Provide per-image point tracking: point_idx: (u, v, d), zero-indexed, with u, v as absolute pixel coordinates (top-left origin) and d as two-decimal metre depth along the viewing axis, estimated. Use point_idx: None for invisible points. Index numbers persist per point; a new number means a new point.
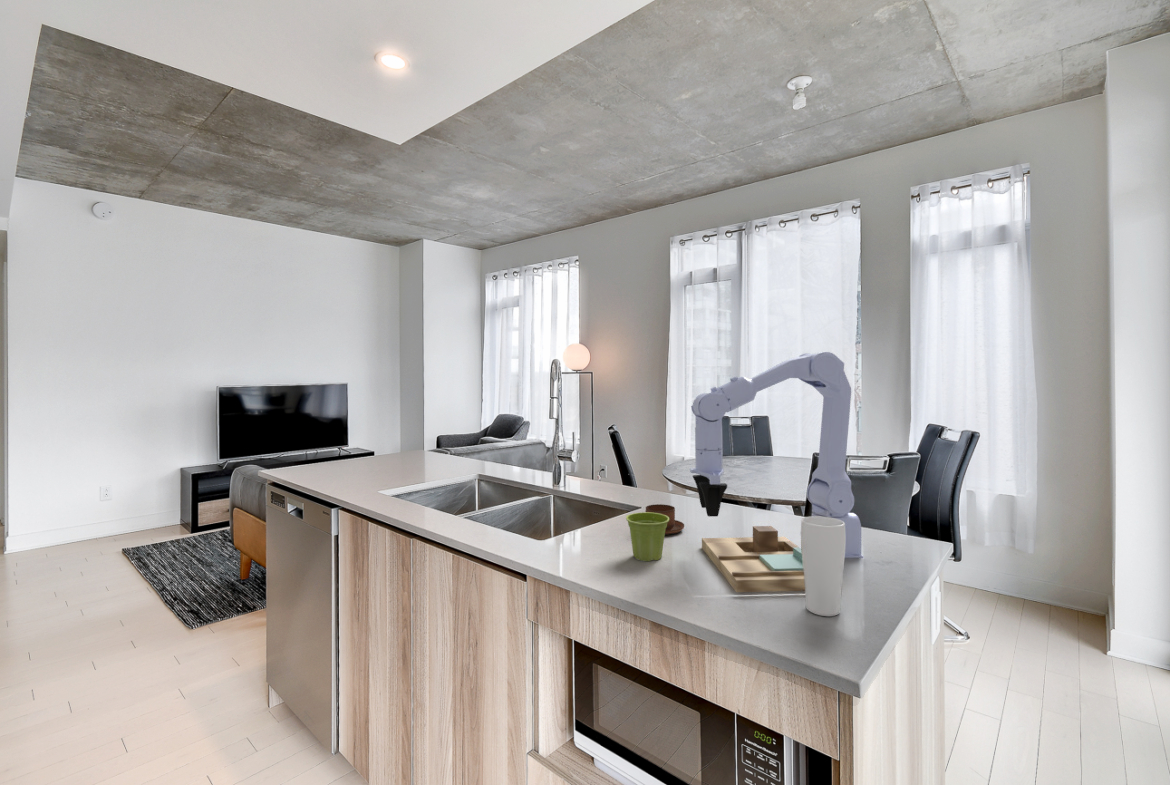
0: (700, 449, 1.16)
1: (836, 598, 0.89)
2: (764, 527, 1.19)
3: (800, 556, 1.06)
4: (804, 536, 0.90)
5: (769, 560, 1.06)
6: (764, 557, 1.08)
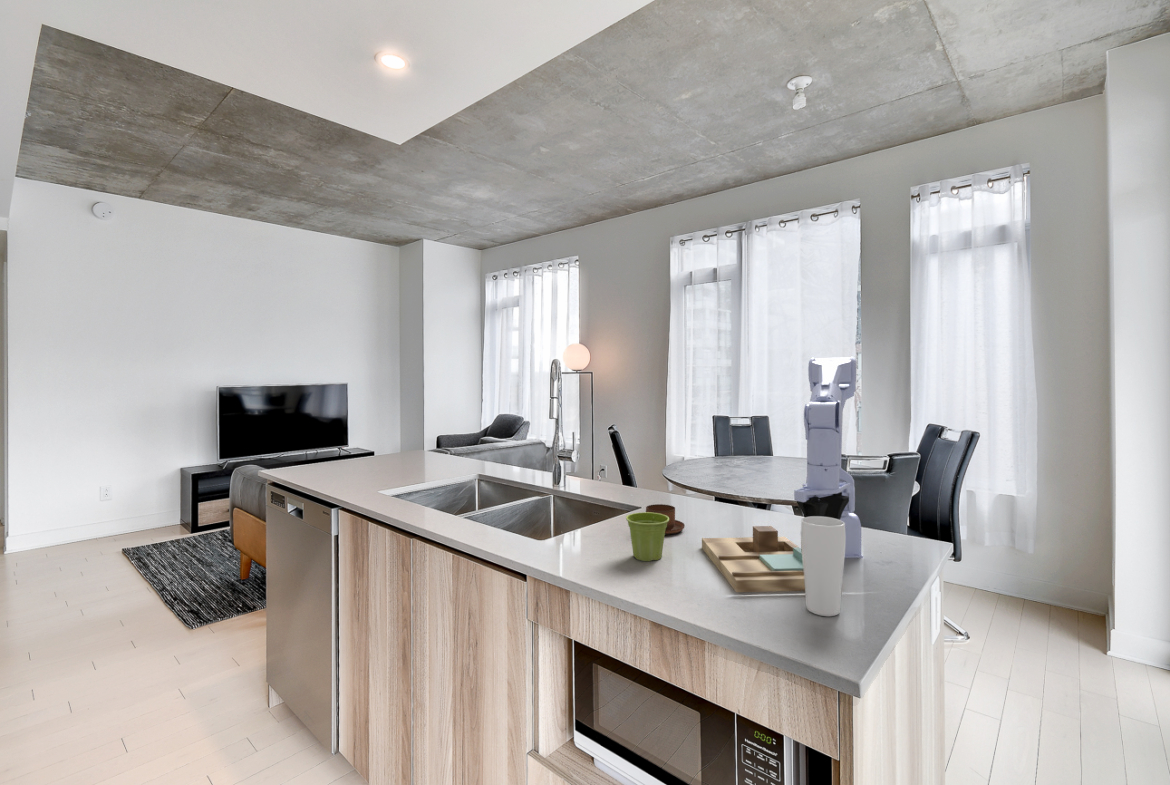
0: (807, 462, 1.06)
1: (836, 598, 0.89)
2: (764, 527, 1.19)
3: (800, 556, 1.06)
4: (804, 536, 0.90)
5: (769, 560, 1.06)
6: (764, 557, 1.08)
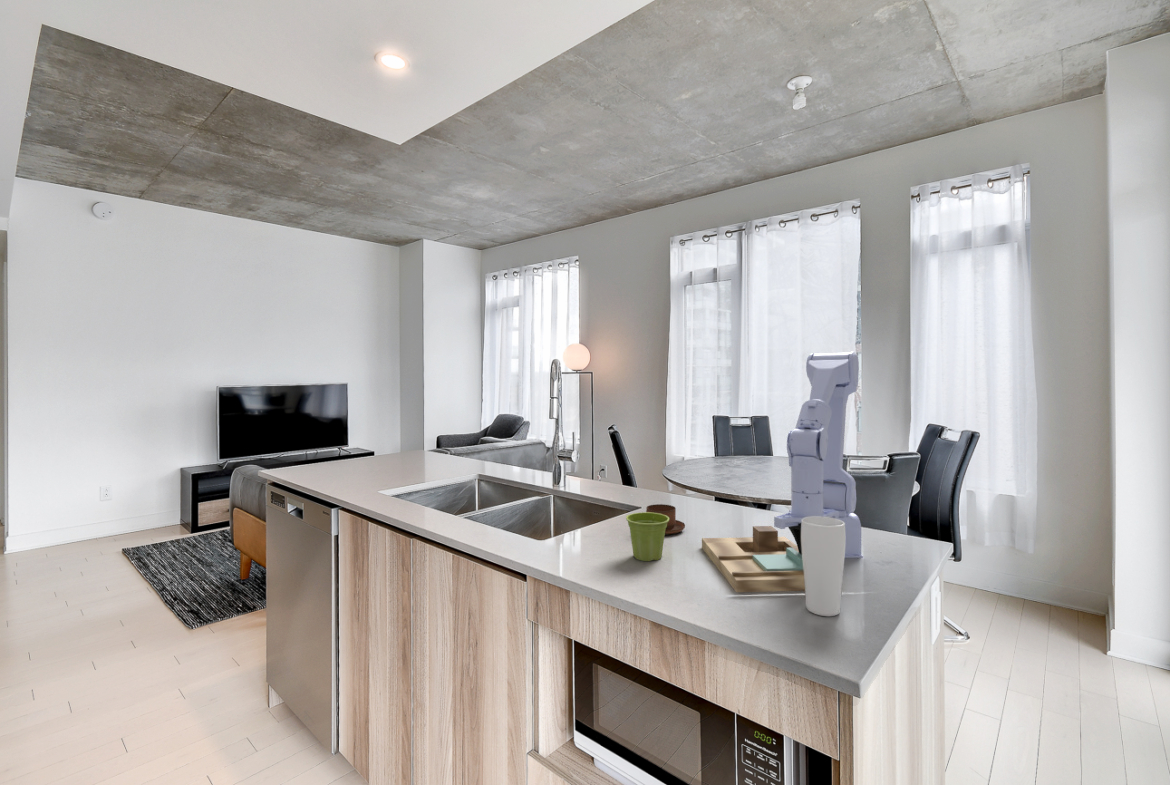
0: (791, 489, 1.07)
1: (836, 598, 0.89)
2: (764, 527, 1.19)
3: (793, 556, 1.06)
4: (804, 536, 0.90)
5: (762, 560, 1.06)
6: (757, 557, 1.08)
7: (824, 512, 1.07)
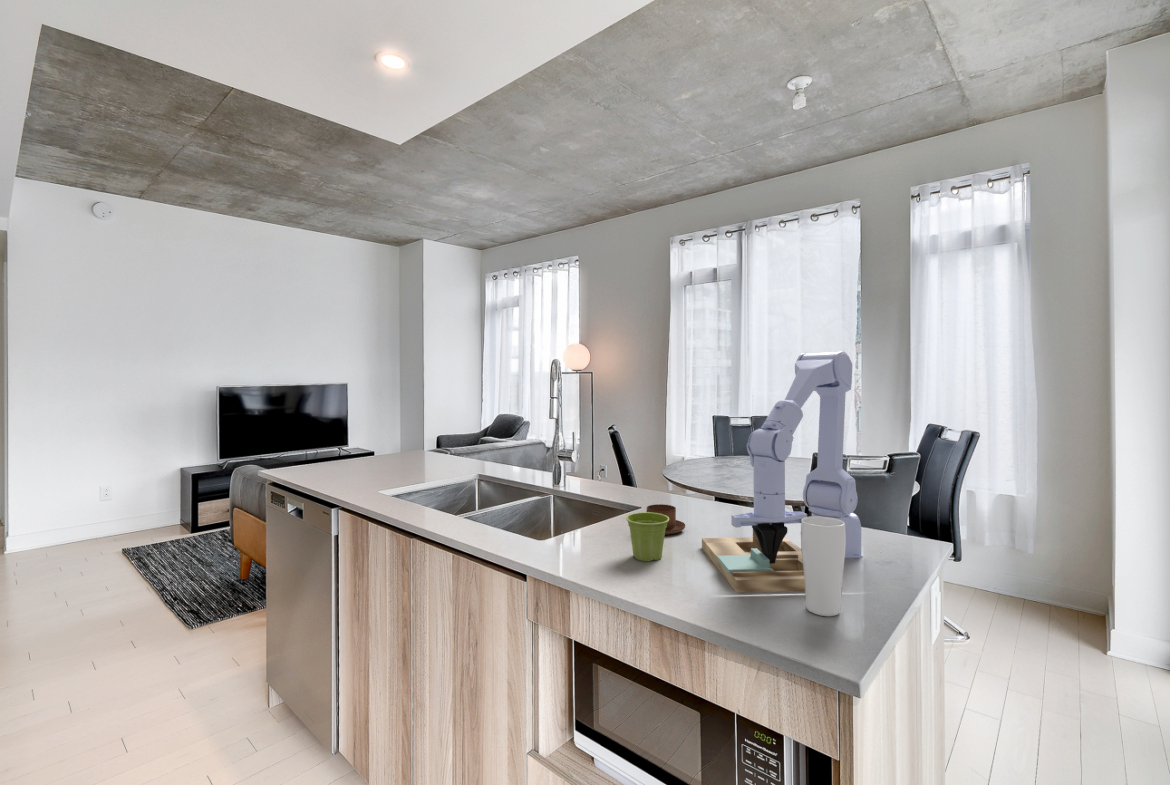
0: None
1: (836, 598, 0.89)
2: None
3: (756, 557, 1.06)
4: (804, 536, 0.90)
5: (725, 561, 1.06)
6: (721, 558, 1.08)
7: (790, 514, 1.06)
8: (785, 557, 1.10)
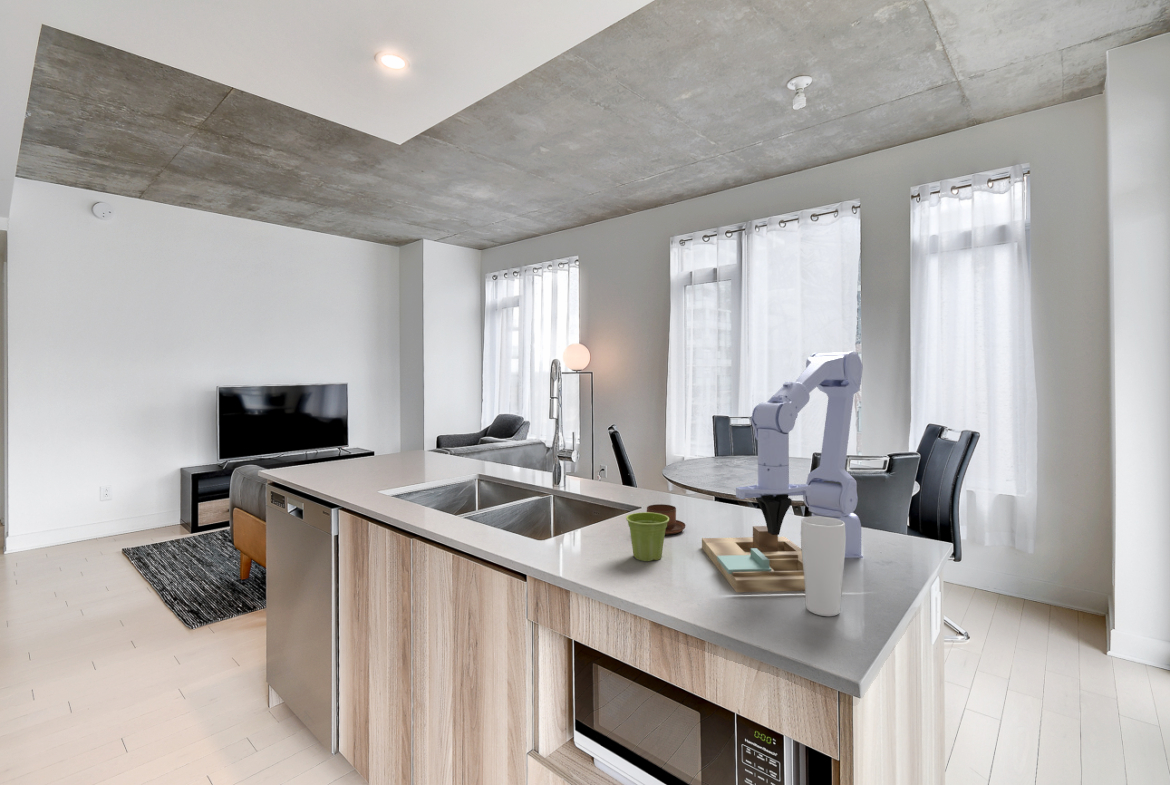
0: None
1: (836, 598, 0.89)
2: (764, 527, 1.19)
3: (756, 557, 1.06)
4: (804, 536, 0.90)
5: (725, 561, 1.06)
6: (721, 558, 1.08)
7: (794, 486, 1.07)
8: (785, 557, 1.10)
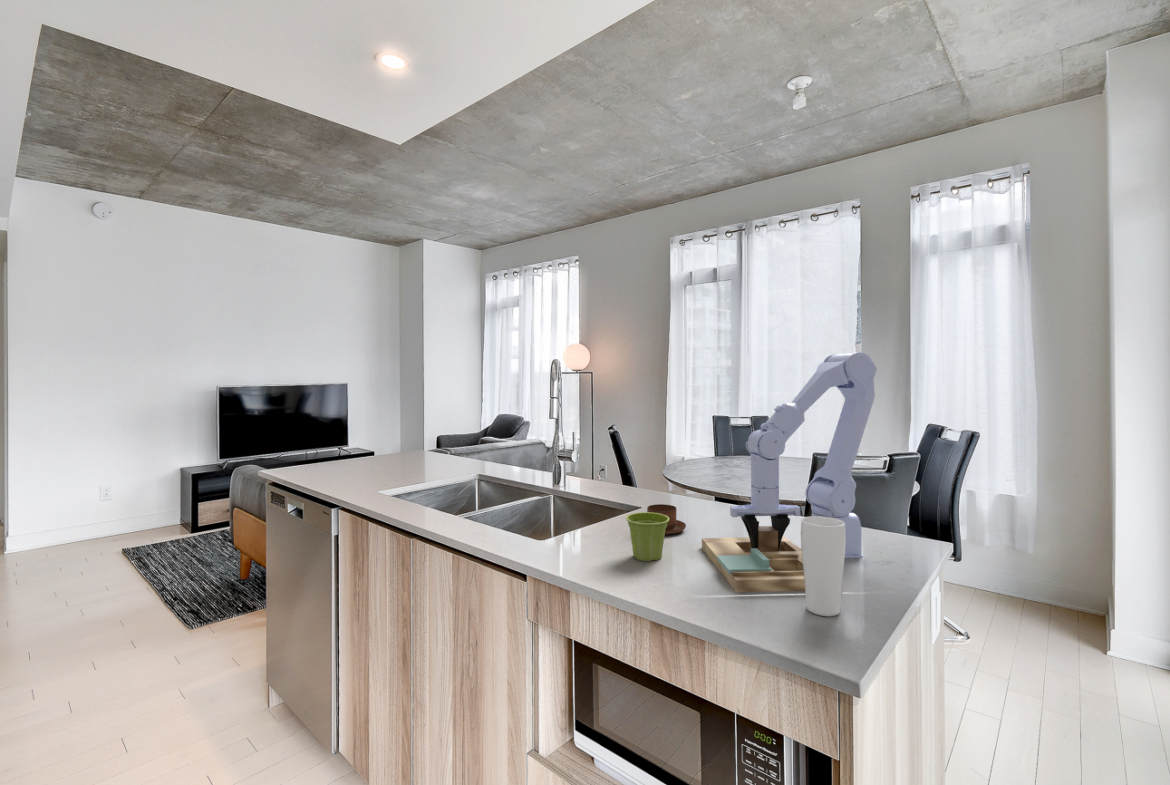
0: None
1: (836, 598, 0.89)
2: (764, 527, 1.19)
3: (756, 557, 1.06)
4: (804, 536, 0.90)
5: (725, 561, 1.06)
6: (721, 558, 1.08)
7: (785, 507, 1.18)
8: (785, 557, 1.10)
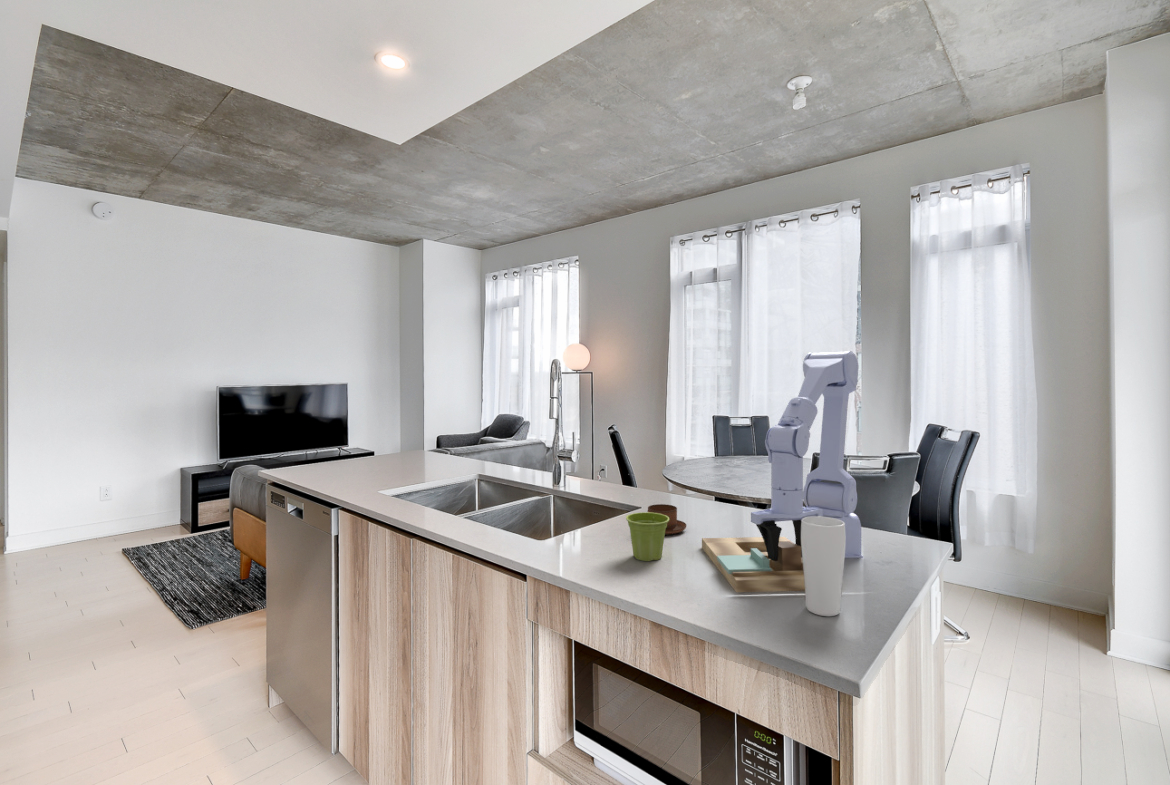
0: None
1: (836, 598, 0.89)
2: (783, 543, 1.07)
3: (756, 557, 1.06)
4: (804, 536, 0.90)
5: (725, 561, 1.06)
6: (721, 558, 1.08)
7: (806, 510, 1.07)
8: None
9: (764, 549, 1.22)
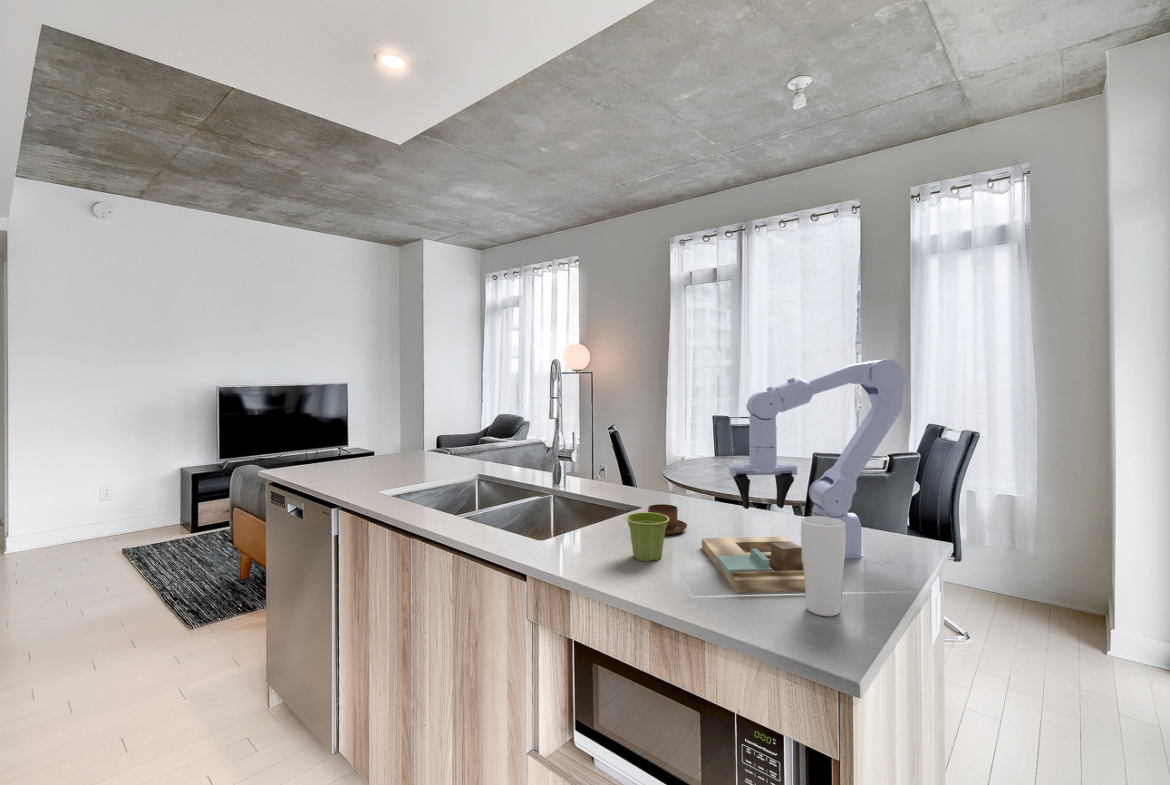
0: None
1: (836, 598, 0.89)
2: (784, 543, 1.07)
3: (756, 557, 1.06)
4: (804, 536, 0.90)
5: (725, 561, 1.06)
6: (721, 558, 1.08)
7: (782, 466, 1.21)
8: None
9: (764, 549, 1.22)
